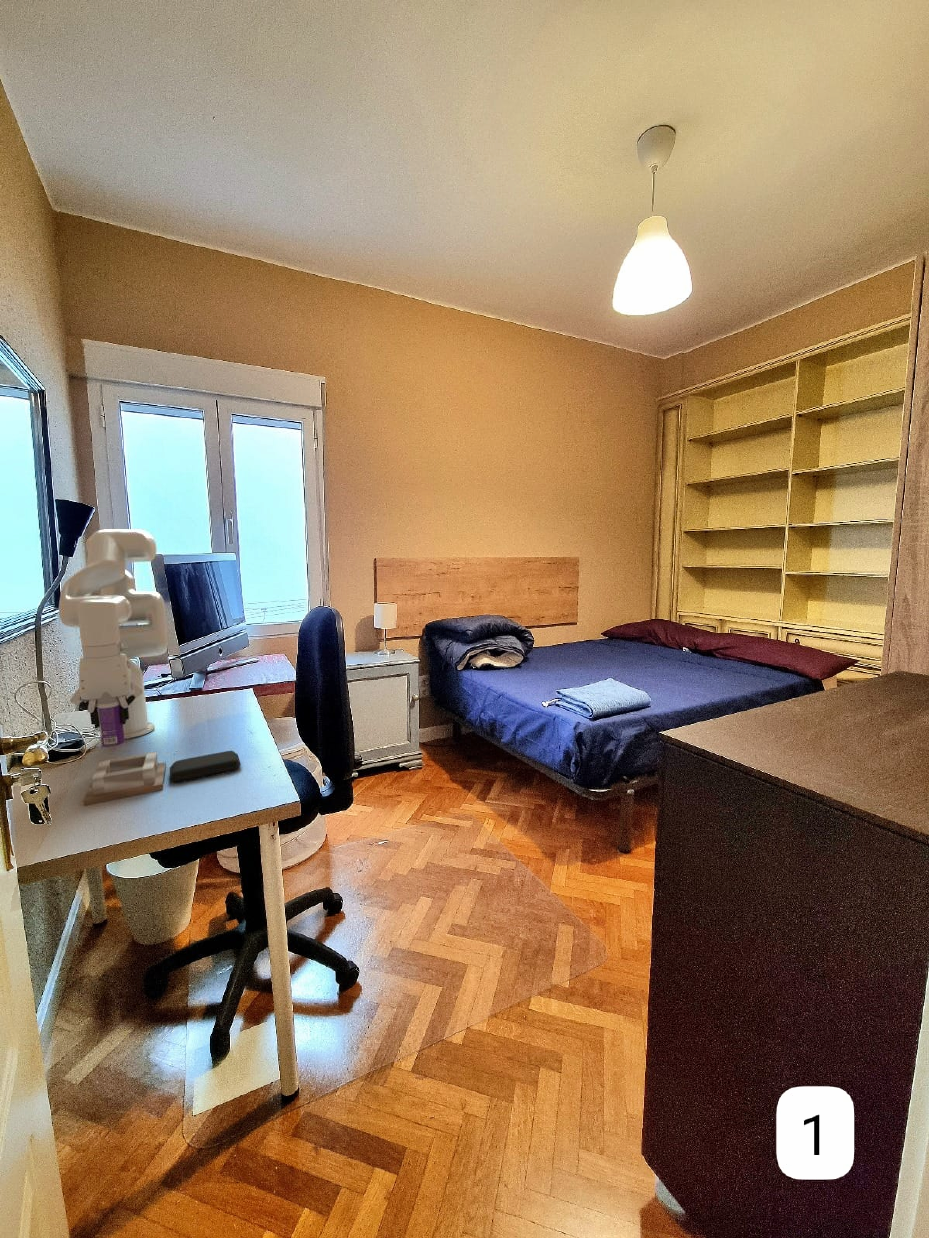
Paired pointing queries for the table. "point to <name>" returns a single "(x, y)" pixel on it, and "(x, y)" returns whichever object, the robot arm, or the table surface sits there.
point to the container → (110, 721)
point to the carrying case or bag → (204, 766)
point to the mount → (126, 778)
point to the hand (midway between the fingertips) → (111, 723)
